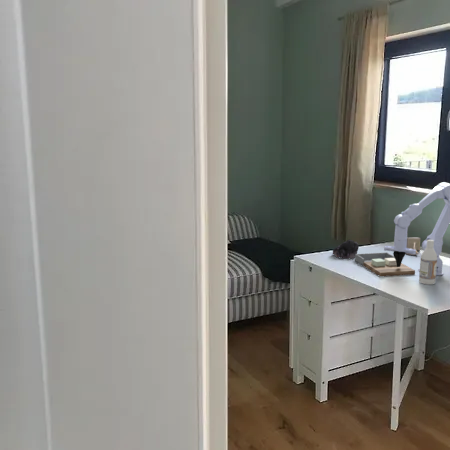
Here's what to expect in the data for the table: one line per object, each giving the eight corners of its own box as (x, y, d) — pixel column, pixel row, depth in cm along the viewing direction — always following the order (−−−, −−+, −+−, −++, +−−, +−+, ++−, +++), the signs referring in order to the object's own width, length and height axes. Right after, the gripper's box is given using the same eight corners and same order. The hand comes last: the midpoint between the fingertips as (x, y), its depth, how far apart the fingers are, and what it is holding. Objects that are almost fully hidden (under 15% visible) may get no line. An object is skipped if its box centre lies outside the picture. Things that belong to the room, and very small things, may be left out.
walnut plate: (414, 274, 247) (415, 270, 246) (380, 276, 243) (380, 272, 243) (396, 263, 264) (396, 260, 264) (363, 265, 261) (363, 262, 260)
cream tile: (398, 265, 255) (398, 260, 254) (389, 265, 254) (389, 261, 253) (393, 262, 260) (393, 257, 259) (384, 263, 259) (384, 258, 258)
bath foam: (432, 286, 230) (436, 242, 226) (417, 283, 234) (420, 240, 230) (436, 282, 236) (440, 239, 231) (421, 279, 240) (424, 237, 235)
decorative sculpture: (418, 257, 278) (419, 244, 276) (399, 255, 281) (400, 242, 280) (420, 249, 292) (421, 237, 290) (402, 248, 296) (403, 235, 294)
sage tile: (385, 266, 253) (385, 261, 253) (375, 266, 253) (376, 261, 252) (380, 263, 258) (380, 258, 258) (371, 263, 257) (371, 259, 257)
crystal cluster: (327, 255, 282) (328, 238, 279) (345, 250, 288) (346, 234, 285) (344, 263, 271) (345, 246, 268) (363, 258, 278) (364, 240, 274)
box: (395, 263, 264) (396, 257, 263) (363, 265, 261) (363, 259, 260) (386, 258, 274) (387, 252, 273) (354, 260, 270) (355, 254, 270)
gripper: (417, 239, 247) (415, 266, 249) (387, 236, 254) (385, 262, 257) (415, 242, 241) (413, 270, 243) (383, 238, 248) (382, 265, 251)
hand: (398, 266), depth 250 cm, fingers closed
